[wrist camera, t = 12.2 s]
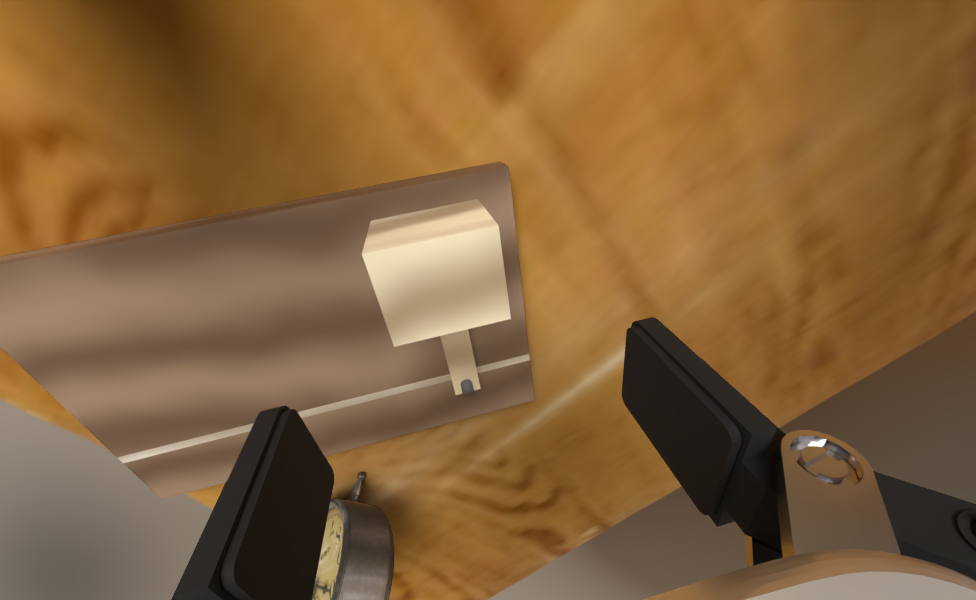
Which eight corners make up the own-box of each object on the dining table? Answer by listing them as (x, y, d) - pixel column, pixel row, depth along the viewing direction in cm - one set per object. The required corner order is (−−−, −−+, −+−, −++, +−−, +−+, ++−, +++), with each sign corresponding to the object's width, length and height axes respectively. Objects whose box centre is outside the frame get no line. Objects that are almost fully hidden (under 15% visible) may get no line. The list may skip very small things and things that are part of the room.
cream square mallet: (370, 220, 19) (361, 254, 15) (478, 199, 20) (498, 225, 16) (425, 391, 26) (429, 448, 22) (505, 370, 27) (524, 422, 22)
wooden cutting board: (-28, 261, 18) (-73, 278, 17) (500, 161, 21) (508, 166, 20) (176, 474, 27) (161, 499, 26) (526, 383, 30) (534, 400, 29)
